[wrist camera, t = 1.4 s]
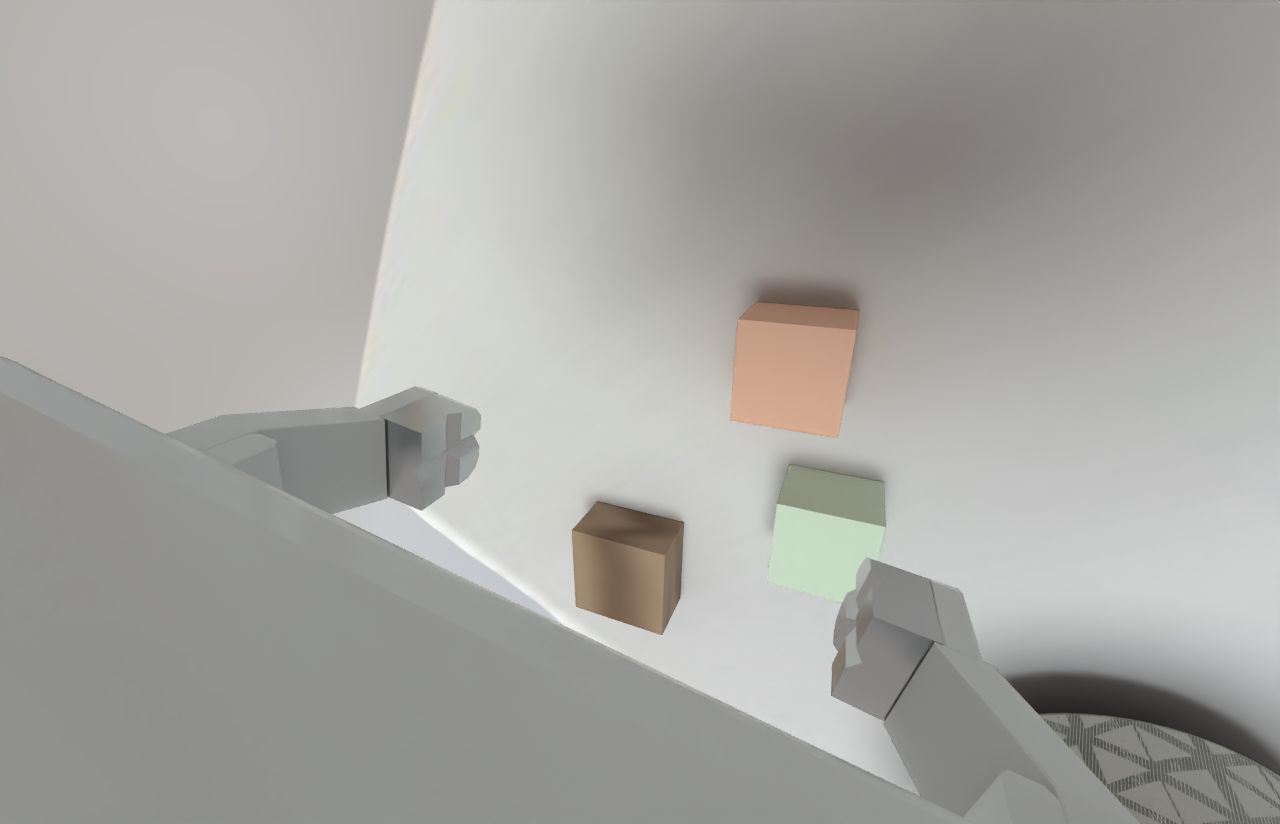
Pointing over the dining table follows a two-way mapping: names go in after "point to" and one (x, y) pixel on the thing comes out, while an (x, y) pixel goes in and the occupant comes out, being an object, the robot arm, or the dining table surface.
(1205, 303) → the dining table surface
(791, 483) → the sage block
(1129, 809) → the planter
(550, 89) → the dining table surface
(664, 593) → the walnut base
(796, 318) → the terracotta block
